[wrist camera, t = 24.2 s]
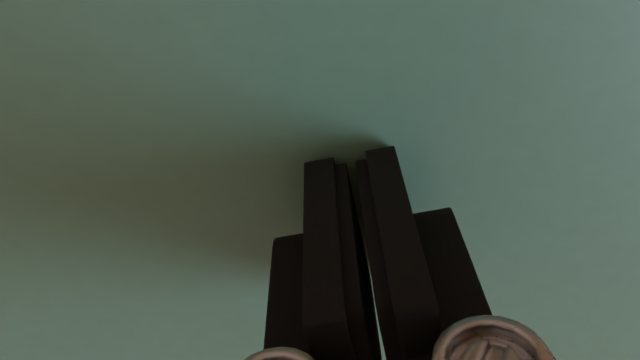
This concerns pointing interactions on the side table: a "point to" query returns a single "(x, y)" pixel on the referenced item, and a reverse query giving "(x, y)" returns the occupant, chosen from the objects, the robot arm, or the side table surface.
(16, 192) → the lid
